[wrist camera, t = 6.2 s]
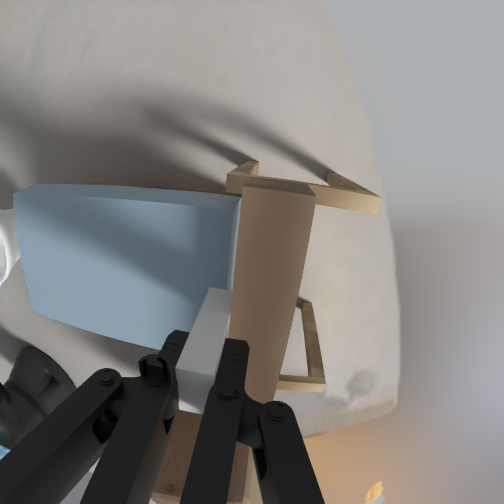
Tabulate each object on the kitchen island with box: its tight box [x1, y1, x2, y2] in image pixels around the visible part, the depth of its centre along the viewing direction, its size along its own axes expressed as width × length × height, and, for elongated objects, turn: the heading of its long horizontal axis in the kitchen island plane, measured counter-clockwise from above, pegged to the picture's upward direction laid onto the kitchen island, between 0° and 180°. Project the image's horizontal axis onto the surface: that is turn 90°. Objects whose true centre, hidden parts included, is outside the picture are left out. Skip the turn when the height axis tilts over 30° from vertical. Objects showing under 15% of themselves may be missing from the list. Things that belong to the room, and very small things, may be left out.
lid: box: [12, 183, 242, 350], centre depth 20 cm, size 18×11×4 cm, turn 84°
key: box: [228, 177, 317, 404], centre depth 16 cm, size 3×15×4 cm, turn 174°
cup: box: [0, 208, 20, 286], centre depth 26 cm, size 9×9×10 cm
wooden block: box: [151, 404, 263, 504], centre depth 27 cm, size 10×10×20 cm
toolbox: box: [88, 161, 382, 393], centre depth 24 cm, size 26×15×12 cm, turn 84°
